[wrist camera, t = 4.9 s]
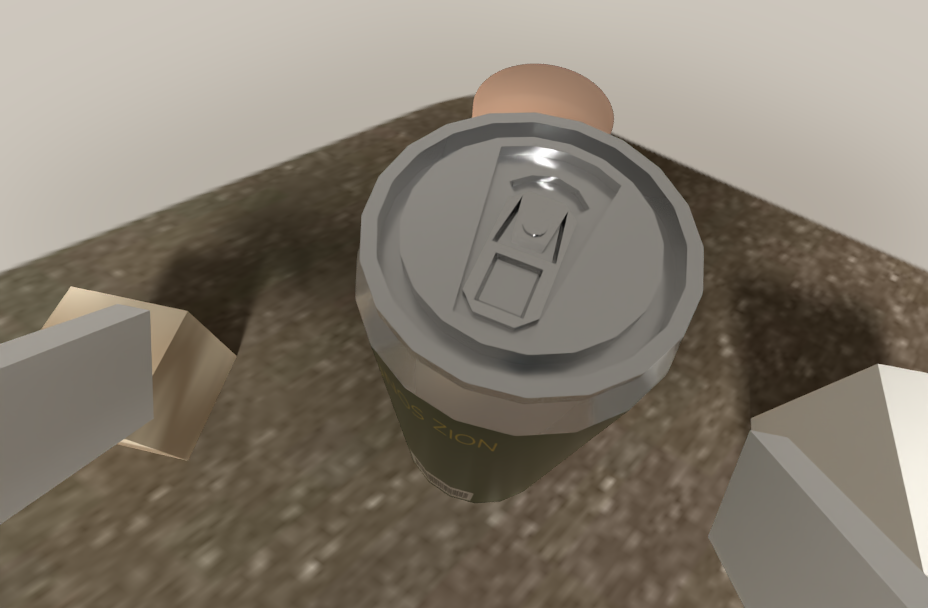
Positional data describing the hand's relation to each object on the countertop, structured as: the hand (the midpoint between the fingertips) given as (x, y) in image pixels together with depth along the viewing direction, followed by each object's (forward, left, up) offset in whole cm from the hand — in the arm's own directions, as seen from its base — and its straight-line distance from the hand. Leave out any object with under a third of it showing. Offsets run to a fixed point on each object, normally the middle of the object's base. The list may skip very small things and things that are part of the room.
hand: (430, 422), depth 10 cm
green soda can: (+1, -2, -7) cm, 8 cm away
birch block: (+6, +8, -7) cm, 13 cm away
